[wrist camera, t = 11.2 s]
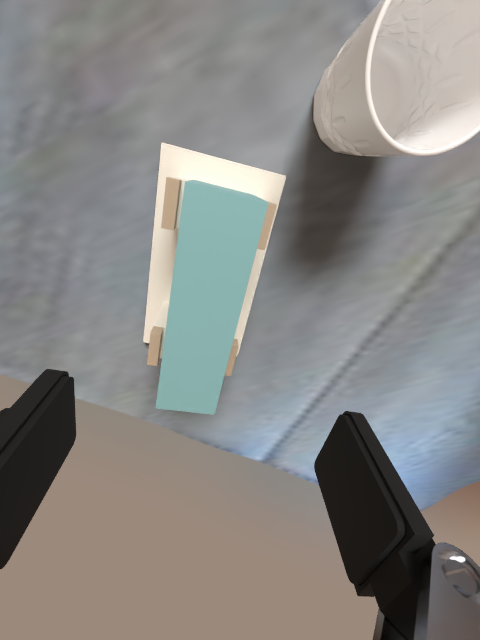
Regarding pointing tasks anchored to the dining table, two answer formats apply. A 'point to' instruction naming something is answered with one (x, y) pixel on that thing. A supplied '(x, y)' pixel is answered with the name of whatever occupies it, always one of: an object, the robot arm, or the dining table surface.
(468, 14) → the white cup
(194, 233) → the teal bar
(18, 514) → the robot arm
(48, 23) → the dining table surface
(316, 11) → the dining table surface
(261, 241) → the stand
